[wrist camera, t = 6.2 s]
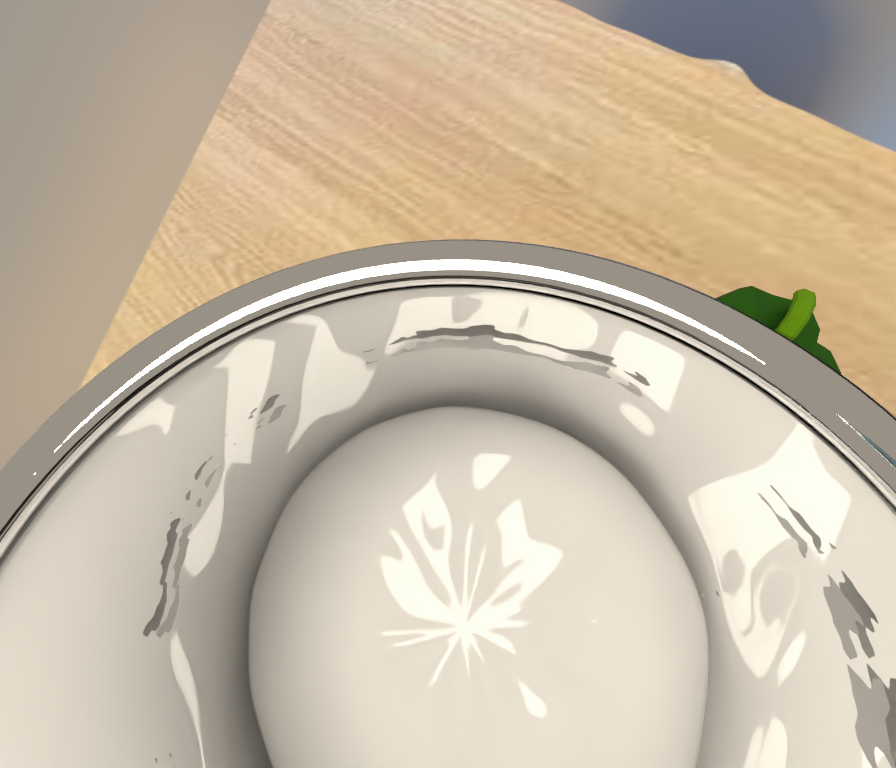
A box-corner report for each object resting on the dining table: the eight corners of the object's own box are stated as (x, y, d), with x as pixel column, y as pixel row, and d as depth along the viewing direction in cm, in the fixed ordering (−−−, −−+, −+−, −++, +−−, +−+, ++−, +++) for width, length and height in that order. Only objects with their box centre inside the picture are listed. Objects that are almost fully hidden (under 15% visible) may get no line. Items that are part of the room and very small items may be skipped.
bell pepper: (703, 473, 29) (812, 449, 19) (615, 384, 31) (673, 323, 21) (788, 398, 30) (930, 339, 20) (696, 317, 32) (785, 232, 23)
